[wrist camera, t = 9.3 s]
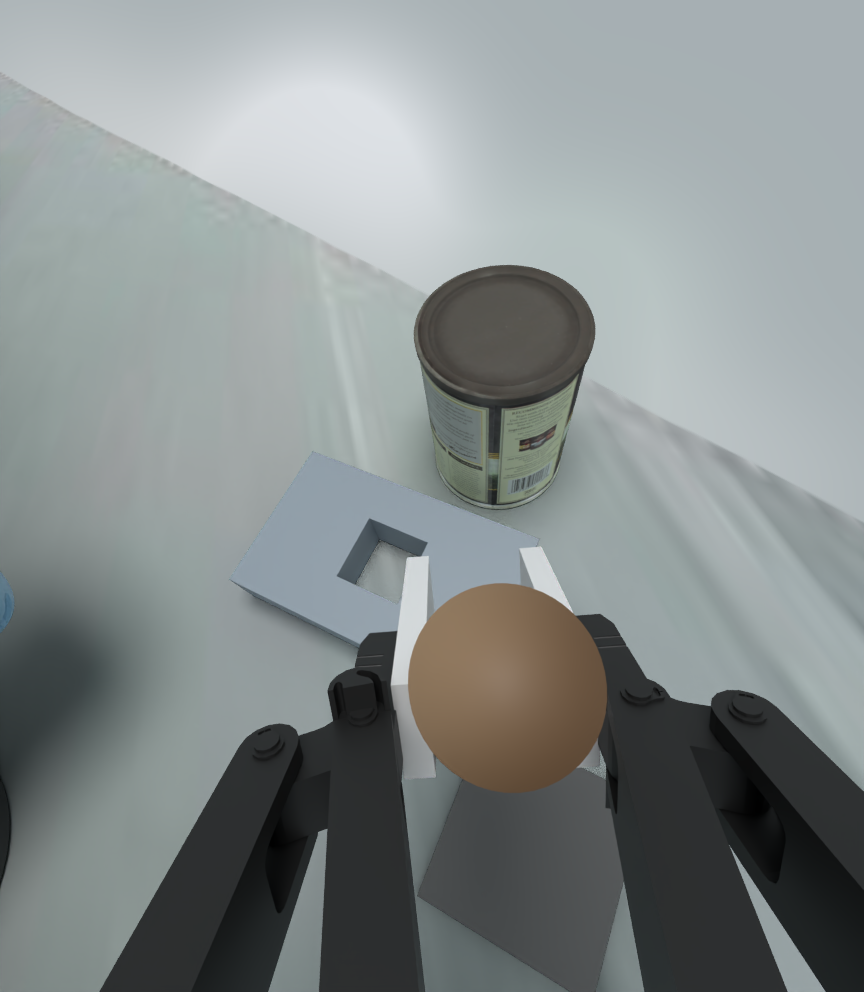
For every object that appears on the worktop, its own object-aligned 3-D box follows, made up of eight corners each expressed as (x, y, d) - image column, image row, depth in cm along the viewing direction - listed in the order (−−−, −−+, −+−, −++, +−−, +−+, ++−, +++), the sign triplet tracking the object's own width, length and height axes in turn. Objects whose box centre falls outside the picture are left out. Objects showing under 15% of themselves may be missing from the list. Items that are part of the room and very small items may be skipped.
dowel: (430, 735, 19) (372, 727, 8) (466, 655, 20) (458, 554, 9) (509, 780, 18) (565, 837, 7) (542, 694, 19) (632, 632, 8)
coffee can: (483, 384, 44) (484, 241, 32) (584, 442, 41) (631, 307, 28) (408, 465, 41) (377, 342, 29) (511, 535, 38) (526, 430, 25)
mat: (417, 893, 28) (417, 895, 28) (485, 720, 32) (485, 719, 32) (590, 1001, 26) (592, 1005, 25) (642, 798, 30) (644, 799, 29)
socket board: (253, 595, 37) (228, 579, 34) (327, 476, 41) (312, 451, 38) (474, 705, 33) (473, 700, 29) (533, 559, 37) (539, 538, 33)
